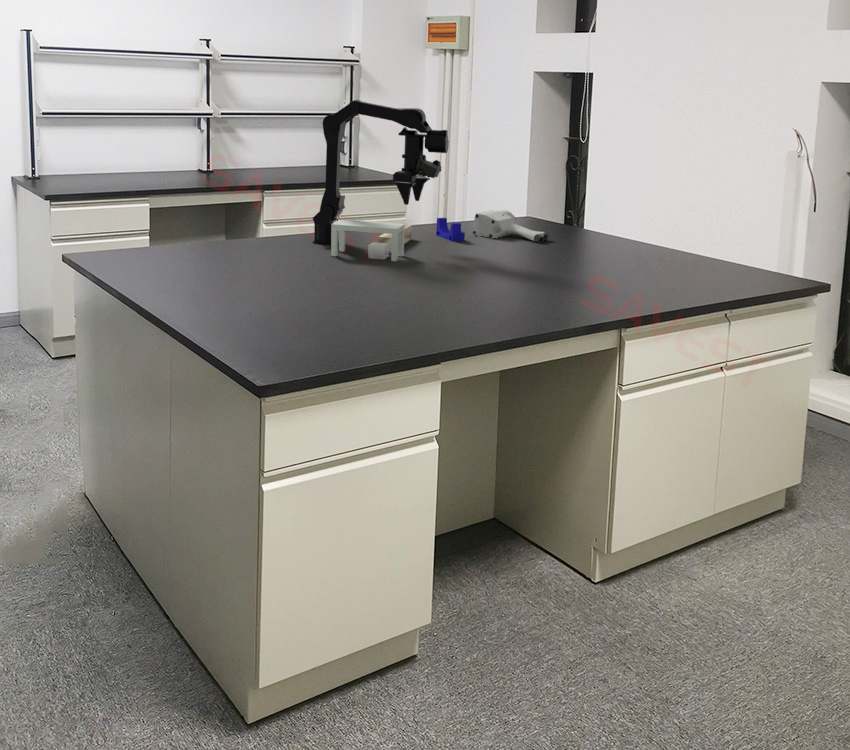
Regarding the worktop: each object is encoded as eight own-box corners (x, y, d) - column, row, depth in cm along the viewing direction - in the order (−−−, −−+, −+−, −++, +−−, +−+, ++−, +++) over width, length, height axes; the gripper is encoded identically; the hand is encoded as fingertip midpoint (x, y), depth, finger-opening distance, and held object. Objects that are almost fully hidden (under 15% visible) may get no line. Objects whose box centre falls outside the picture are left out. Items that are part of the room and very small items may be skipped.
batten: (378, 252, 303) (378, 236, 301) (399, 239, 326) (399, 224, 324) (390, 254, 302) (391, 237, 300) (411, 240, 325) (411, 224, 324)
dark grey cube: (368, 258, 294) (368, 245, 292) (372, 255, 298) (372, 242, 297) (384, 259, 293) (384, 246, 291) (388, 256, 297) (389, 243, 296)
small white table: (331, 255, 294) (331, 224, 291) (340, 250, 303) (340, 219, 300) (396, 261, 290) (397, 229, 287) (403, 255, 299) (404, 224, 296)
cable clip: (464, 241, 326) (465, 223, 324) (452, 242, 324) (453, 223, 322) (448, 235, 336) (448, 217, 334) (436, 235, 334) (436, 217, 332)
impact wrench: (568, 229, 340) (506, 203, 351) (538, 237, 322) (474, 211, 332) (561, 250, 344) (500, 225, 354) (531, 260, 325) (468, 233, 336)
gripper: (427, 155, 290) (425, 209, 295) (448, 150, 307) (446, 201, 311) (392, 152, 293) (391, 205, 298) (415, 148, 310) (413, 198, 315)
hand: (411, 202), depth 306 cm, fingers open, 9 cm apart
